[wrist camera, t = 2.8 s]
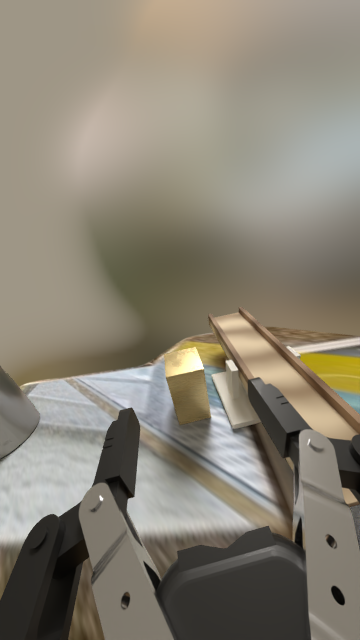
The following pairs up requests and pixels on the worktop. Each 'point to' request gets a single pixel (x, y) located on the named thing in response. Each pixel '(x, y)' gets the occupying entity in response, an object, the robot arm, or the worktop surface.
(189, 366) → the block
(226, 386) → the beam stand
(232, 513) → the worktop surface
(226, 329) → the balance beam
